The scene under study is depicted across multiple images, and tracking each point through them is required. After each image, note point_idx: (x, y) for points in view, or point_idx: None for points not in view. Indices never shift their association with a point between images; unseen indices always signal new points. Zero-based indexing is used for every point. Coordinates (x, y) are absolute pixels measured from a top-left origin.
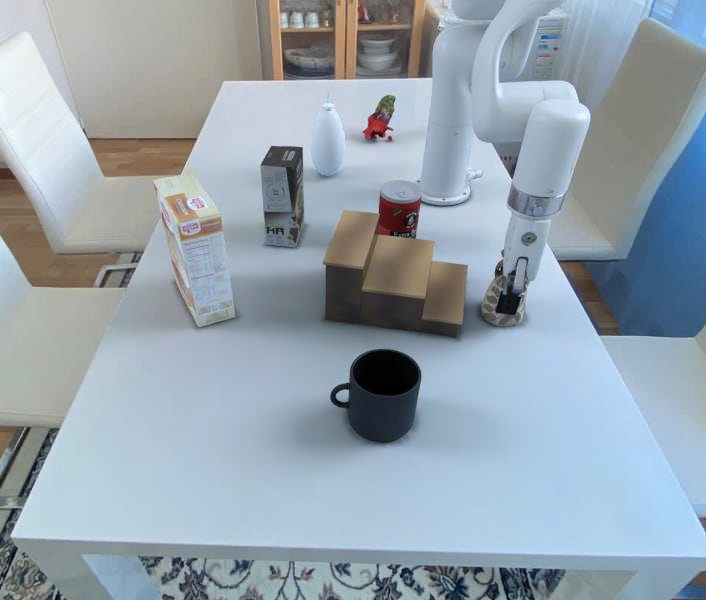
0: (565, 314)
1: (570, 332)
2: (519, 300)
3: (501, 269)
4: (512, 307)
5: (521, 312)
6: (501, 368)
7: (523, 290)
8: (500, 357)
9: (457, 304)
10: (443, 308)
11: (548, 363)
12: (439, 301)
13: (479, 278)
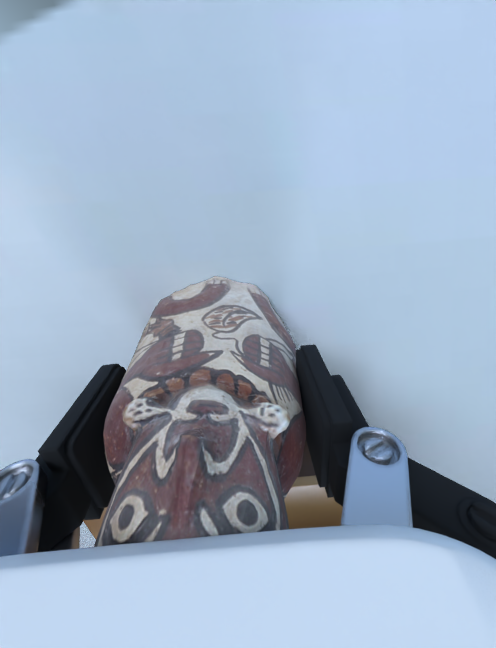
0: (110, 83)
1: (250, 47)
2: (339, 396)
3: (111, 496)
4: (349, 393)
5: (253, 309)
6: (490, 314)
7: (243, 390)
8: (439, 322)
9: (307, 497)
10: (334, 517)
11: (478, 156)
12: (303, 527)
13: (61, 418)
